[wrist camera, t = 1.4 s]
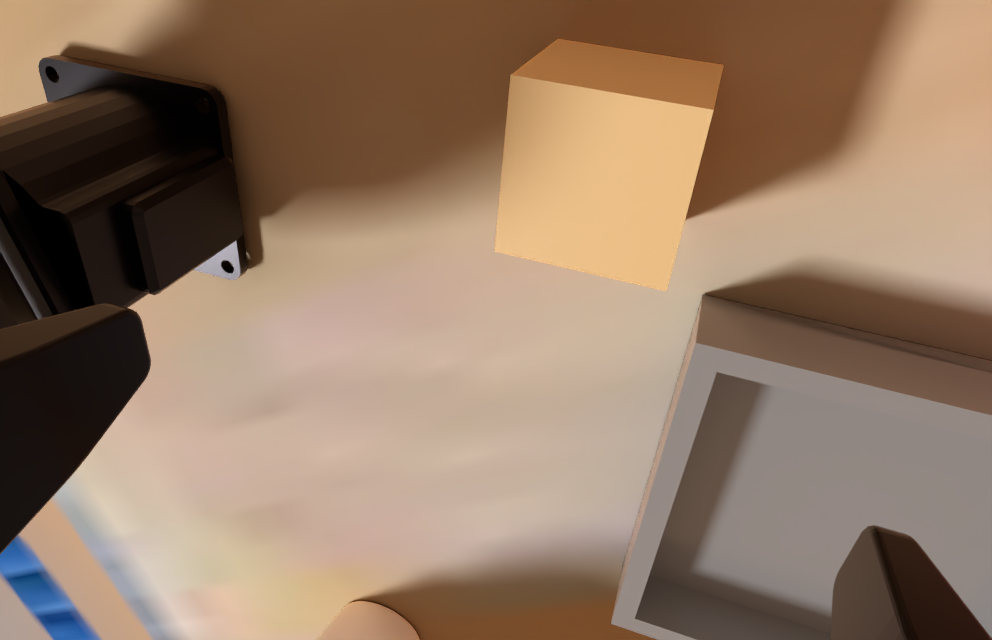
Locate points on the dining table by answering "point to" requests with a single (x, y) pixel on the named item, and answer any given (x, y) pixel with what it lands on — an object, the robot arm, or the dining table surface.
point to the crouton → (603, 158)
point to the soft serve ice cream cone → (368, 624)
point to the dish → (804, 475)
